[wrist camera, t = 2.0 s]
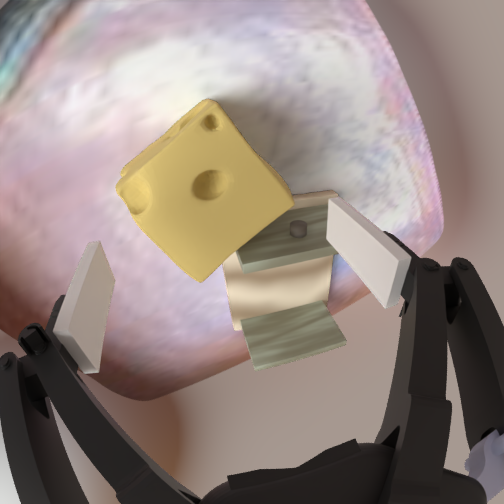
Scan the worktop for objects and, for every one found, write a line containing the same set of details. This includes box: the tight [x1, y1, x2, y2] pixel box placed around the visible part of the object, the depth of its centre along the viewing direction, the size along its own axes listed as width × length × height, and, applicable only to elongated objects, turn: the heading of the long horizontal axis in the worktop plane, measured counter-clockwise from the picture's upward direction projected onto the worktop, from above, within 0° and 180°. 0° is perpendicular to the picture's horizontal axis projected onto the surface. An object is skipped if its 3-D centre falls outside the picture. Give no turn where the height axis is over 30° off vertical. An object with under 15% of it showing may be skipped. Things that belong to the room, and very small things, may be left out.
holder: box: [222, 190, 346, 371], centre depth 32 cm, size 18×14×10 cm
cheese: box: [116, 99, 295, 283], centre depth 23 cm, size 10×11×10 cm
